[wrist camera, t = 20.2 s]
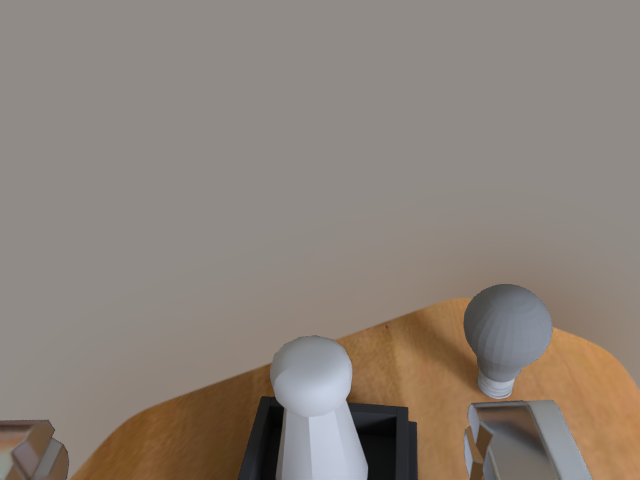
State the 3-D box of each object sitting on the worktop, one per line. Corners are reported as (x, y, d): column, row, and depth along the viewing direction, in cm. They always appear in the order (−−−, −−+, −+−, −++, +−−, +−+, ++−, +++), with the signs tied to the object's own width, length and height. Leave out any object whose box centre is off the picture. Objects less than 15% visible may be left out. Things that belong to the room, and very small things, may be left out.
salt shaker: (289, 449, 36) (267, 314, 29) (370, 456, 35) (369, 319, 28) (271, 534, 31) (240, 398, 24) (364, 545, 30) (361, 408, 23)
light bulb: (448, 408, 39) (461, 312, 34) (461, 353, 44) (474, 260, 38) (531, 431, 37) (559, 333, 32) (536, 371, 42) (561, 276, 36)
